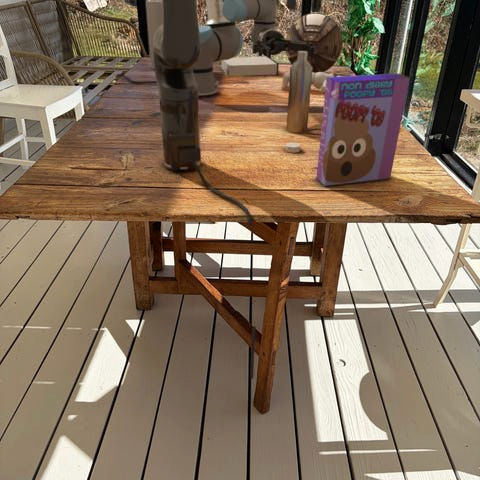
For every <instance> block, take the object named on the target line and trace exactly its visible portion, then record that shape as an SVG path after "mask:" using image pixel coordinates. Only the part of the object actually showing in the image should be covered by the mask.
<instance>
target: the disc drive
mask: <svg viewBox="0 0 480 480" xmlns="http://www.w3.org/2000/svg"><path fill="white" fill-rule="evenodd" d="M220 62H221V64H220V65H221V67H220V68H221V69H222V71H224V73H225V74H226V75H227V76H228V77H243V76H244V77H245V76H270V75H271V76H272V75H275V76H279V68H280V67H279V65H280V63H278V62H277V61H276V60H275V59H273V58H272V57H271V58H267V57H266V56H244V57H243V56H242V57H241V56H239V57H234V58H231V59H229V60H221V61H220Z"/></svg>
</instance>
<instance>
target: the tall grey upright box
mask: <svg viewBox="0 0 480 480" xmlns="http://www.w3.org/2000/svg"><path fill="white" fill-rule="evenodd" d="M145 6H146V18H147V31H148V45H149V56H150V69H152V70H155V66H154V56H153V38H154V35H155V32H156V30H157V29H158V28H159V27H160V26H161V25H162V24H163V2H162V0H146V1H145Z"/></svg>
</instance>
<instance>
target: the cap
mask: <svg viewBox="0 0 480 480" xmlns="http://www.w3.org/2000/svg"><path fill="white" fill-rule="evenodd" d="M284 149H285V151H286V152H287V153H290V154H291V153H293V154H295V153H298V152H300V151H301V144H300V143H298V142H293V141H291V142H287V143H285V148H284Z"/></svg>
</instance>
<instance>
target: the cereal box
mask: <svg viewBox="0 0 480 480" xmlns="http://www.w3.org/2000/svg"><path fill="white" fill-rule="evenodd" d="M340 76H341V77H337V76H334V77H327V80H326V90H325V92H324V100H323V108H322V109H323V110H322V120H321V129H320V130H321V132H320V139H319V140H320V141H319V147H318V148H319V149H318V156H317V157H318V158H317V167H316V176H315V178H316V180H317V181H318V182H319V183H320V184H321V185H322V186H324V187H333V186H340V185H349V184H359V183H367V182H376V181H383V180H390V179H391V178H392V172H393V166H394V163H395V162H394V161H395V156H396V150H397V145H398V140H399V135H400V130H401V125H402V119H403V114H404V108H405V105H406V104H405V103H406V99H407V93H408V88H409V83H410V77H409V76H407V75H405V74H402V73H381V74H380V73H379V74H378V73H377V74H360V75H344V76H343V75H340Z"/></svg>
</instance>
